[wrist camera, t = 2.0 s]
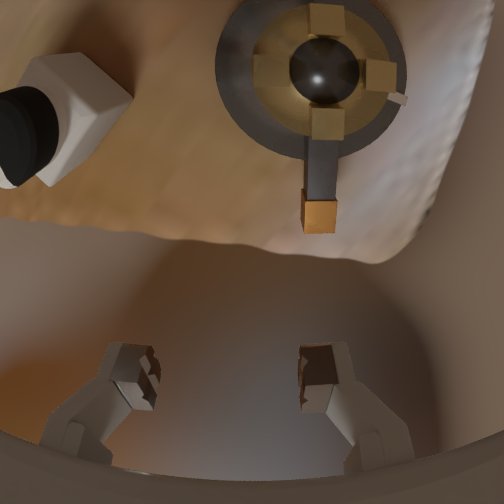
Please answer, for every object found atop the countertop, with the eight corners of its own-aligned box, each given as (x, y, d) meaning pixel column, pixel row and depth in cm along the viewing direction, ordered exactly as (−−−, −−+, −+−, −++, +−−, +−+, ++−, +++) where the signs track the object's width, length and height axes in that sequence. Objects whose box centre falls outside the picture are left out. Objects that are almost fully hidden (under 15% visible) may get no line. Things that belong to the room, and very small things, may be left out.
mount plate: (214, -11, 18) (209, -19, 15) (393, -2, 17) (408, -7, 15) (225, 153, 26) (222, 164, 23) (389, 153, 25) (401, 164, 23)
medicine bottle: (81, 50, 20) (-17, 64, 10) (136, 98, 23) (57, 135, 13) (40, 112, 23) (-50, 158, 13) (90, 157, 25) (12, 223, 16)
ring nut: (248, 9, 17) (246, -1, 14) (378, 16, 16) (399, 11, 13) (258, 217, 26) (258, 242, 23) (366, 215, 25) (380, 239, 22)
